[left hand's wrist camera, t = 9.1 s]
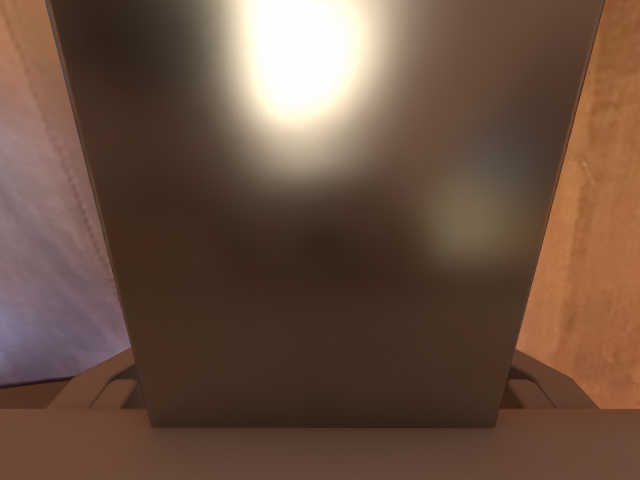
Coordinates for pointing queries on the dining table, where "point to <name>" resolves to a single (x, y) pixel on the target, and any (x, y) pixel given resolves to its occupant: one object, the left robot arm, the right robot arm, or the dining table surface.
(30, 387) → the decorative block
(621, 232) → the dining table surface
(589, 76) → the dining table surface
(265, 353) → the bar
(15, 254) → the dining table surface
